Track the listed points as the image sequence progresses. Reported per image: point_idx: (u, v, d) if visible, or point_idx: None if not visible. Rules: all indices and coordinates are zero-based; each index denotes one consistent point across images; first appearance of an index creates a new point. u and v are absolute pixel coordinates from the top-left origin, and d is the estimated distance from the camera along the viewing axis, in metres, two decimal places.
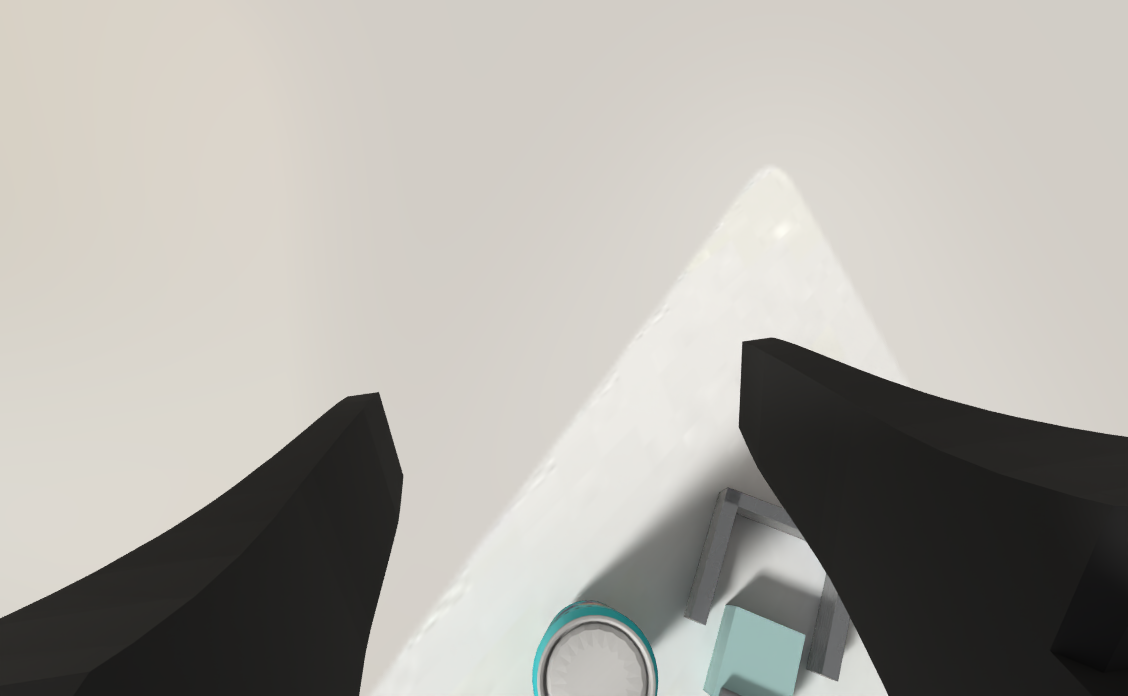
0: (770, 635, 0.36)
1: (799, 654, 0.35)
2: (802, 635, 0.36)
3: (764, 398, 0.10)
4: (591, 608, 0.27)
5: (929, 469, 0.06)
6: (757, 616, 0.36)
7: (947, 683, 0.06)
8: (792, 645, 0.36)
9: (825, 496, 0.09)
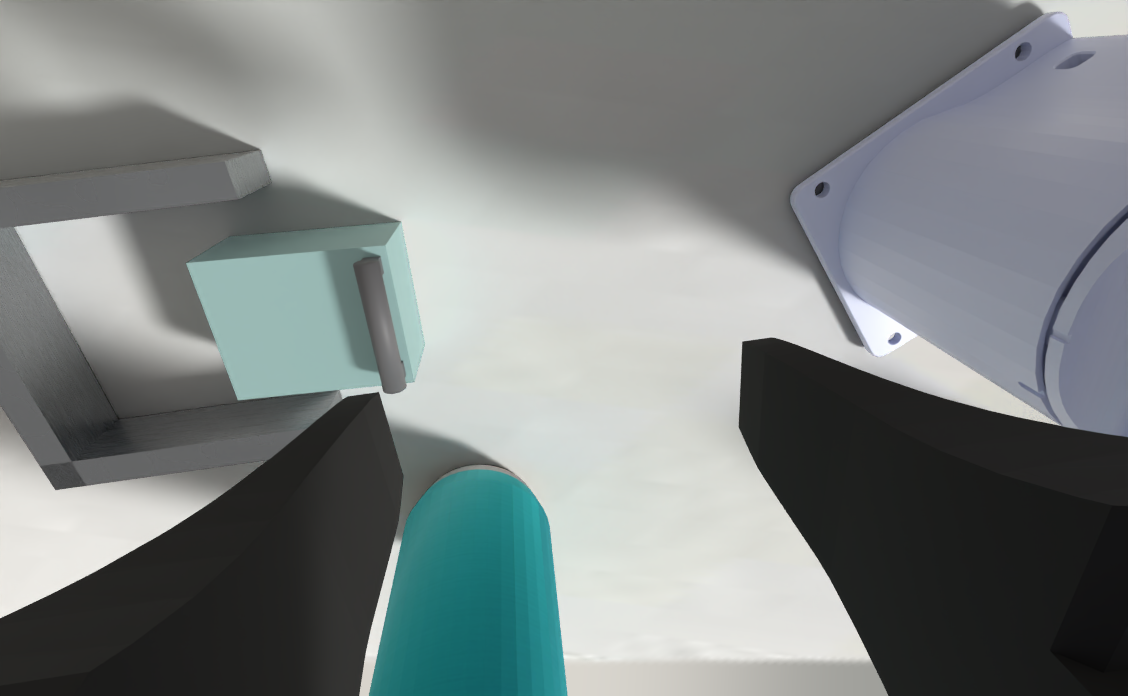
0: (240, 327, 0.17)
1: (232, 262, 0.16)
2: (191, 268, 0.16)
3: (764, 398, 0.10)
4: None
5: (929, 469, 0.06)
6: (225, 361, 0.17)
7: (947, 683, 0.06)
8: (226, 281, 0.16)
9: (825, 496, 0.09)
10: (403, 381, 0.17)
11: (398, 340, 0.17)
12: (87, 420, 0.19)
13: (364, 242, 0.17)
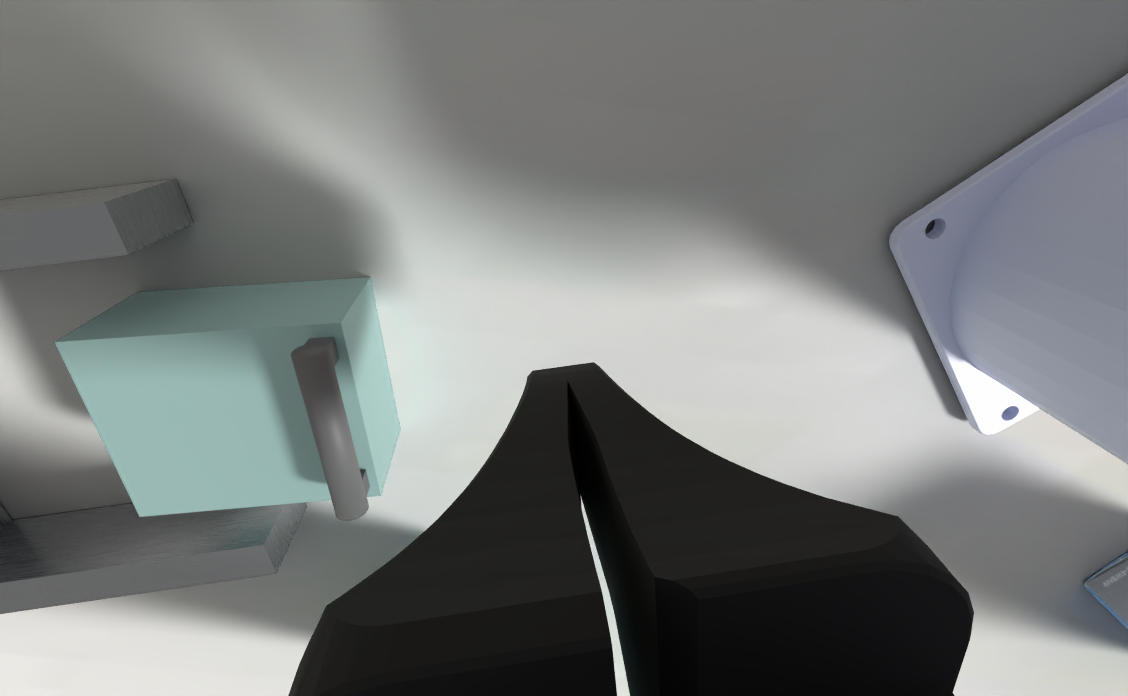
0: (138, 425, 0.12)
1: (122, 342, 0.11)
2: (63, 349, 0.11)
3: (573, 426, 0.10)
4: None
5: (618, 515, 0.06)
6: (119, 468, 0.12)
7: None
8: (114, 367, 0.11)
9: (602, 530, 0.09)
10: (363, 503, 0.12)
11: (359, 444, 0.13)
12: None
13: (313, 314, 0.12)
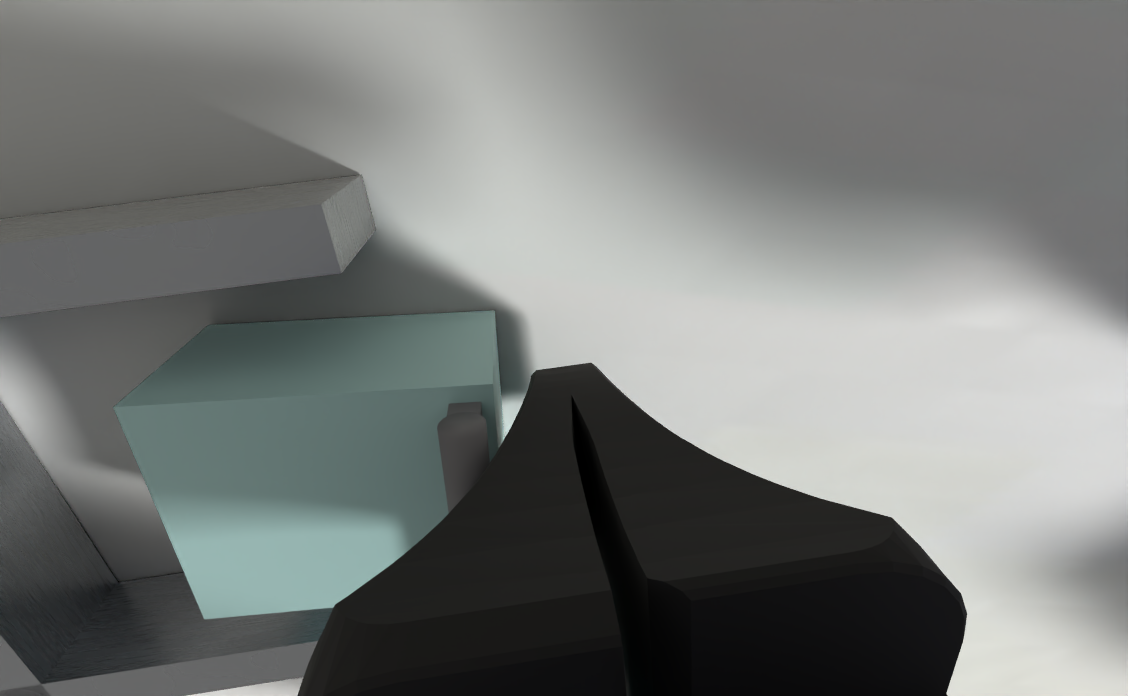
0: (214, 511, 0.09)
1: (203, 407, 0.08)
2: (124, 415, 0.08)
3: None
4: None
5: (613, 516, 0.06)
6: (185, 563, 0.10)
7: None
8: (190, 439, 0.09)
9: (599, 530, 0.09)
10: None
11: None
12: (68, 602, 0.12)
13: (449, 369, 0.09)
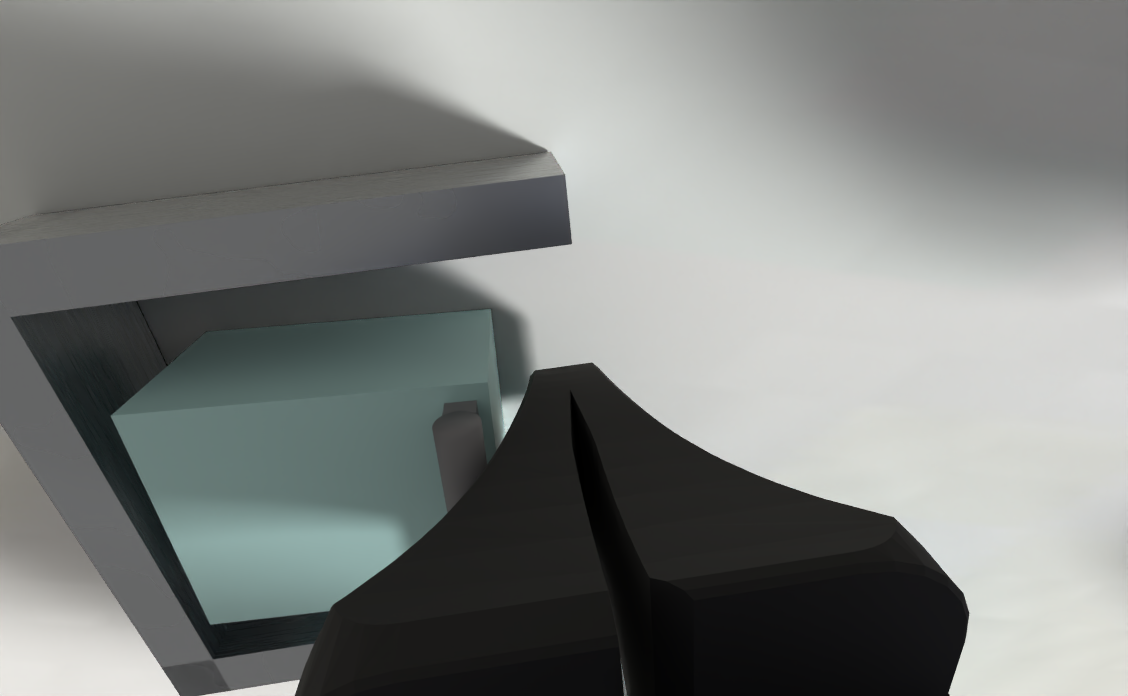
0: (215, 516, 0.09)
1: (199, 413, 0.08)
2: (122, 424, 0.08)
3: None
4: None
5: (614, 516, 0.06)
6: (188, 569, 0.10)
7: None
8: (188, 446, 0.09)
9: (600, 530, 0.09)
10: None
11: None
12: None
13: (444, 369, 0.09)
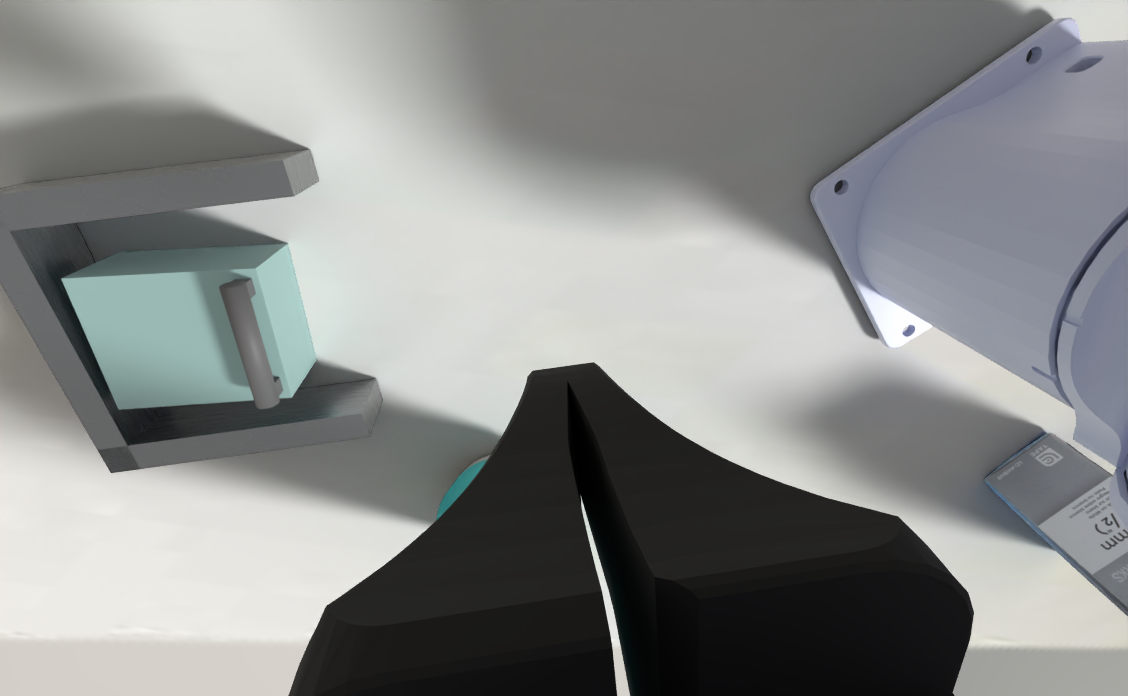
0: (117, 340, 0.17)
1: (106, 279, 0.17)
2: (67, 283, 0.17)
3: (573, 425, 0.10)
4: None
5: (618, 516, 0.06)
6: (104, 372, 0.18)
7: None
8: (101, 297, 0.17)
9: (602, 530, 0.09)
10: (275, 397, 0.18)
11: (273, 357, 0.18)
12: None
13: (239, 264, 0.17)
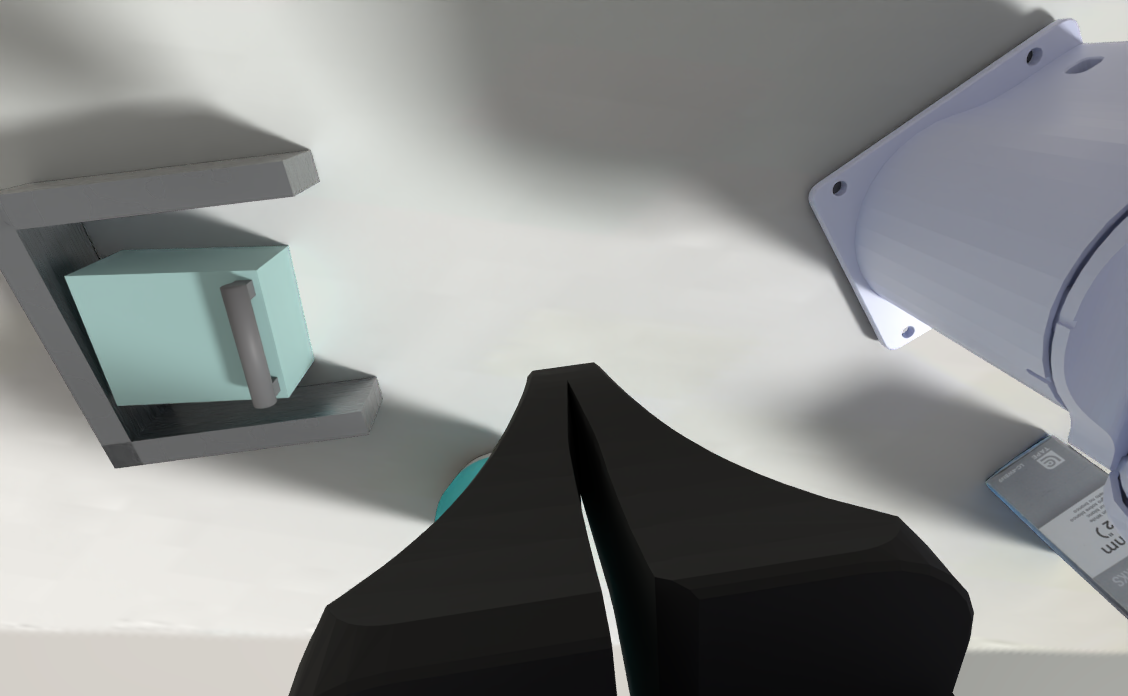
0: (118, 337, 0.18)
1: (109, 278, 0.17)
2: (70, 281, 0.17)
3: (573, 425, 0.10)
4: None
5: (618, 516, 0.06)
6: (104, 368, 0.18)
7: None
8: (103, 295, 0.17)
9: (602, 530, 0.09)
10: (272, 397, 0.18)
11: (272, 358, 0.18)
12: None
13: (240, 265, 0.18)
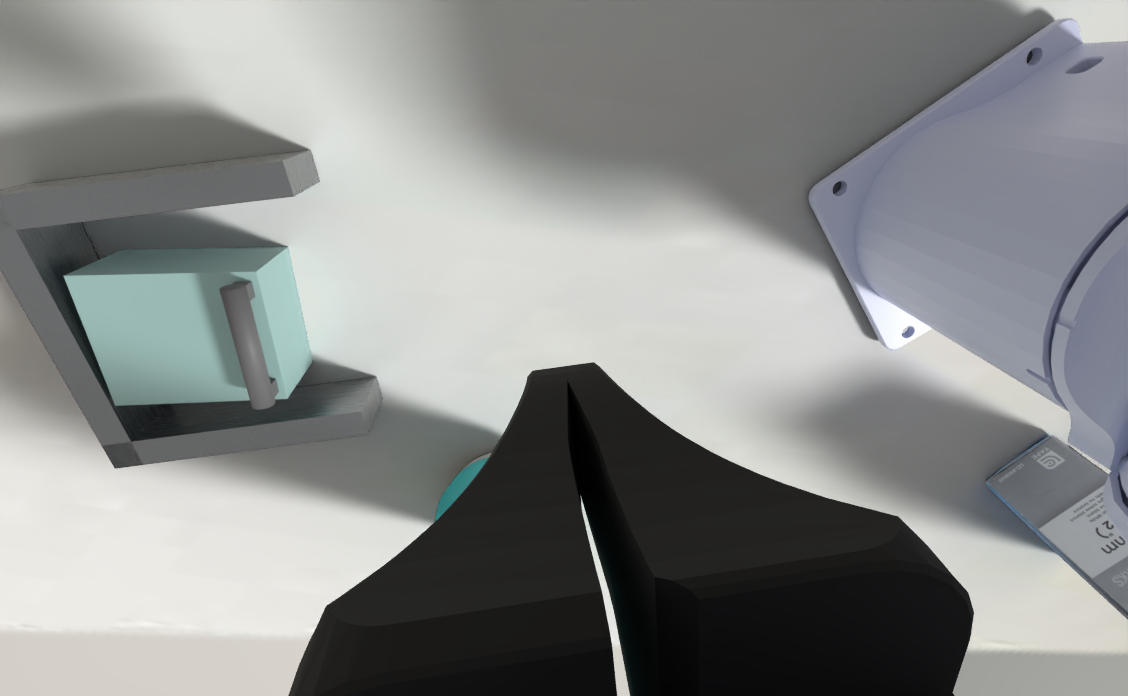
0: (116, 337, 0.18)
1: (108, 278, 0.17)
2: (69, 281, 0.17)
3: (573, 425, 0.10)
4: None
5: (618, 516, 0.06)
6: (102, 368, 0.18)
7: None
8: (102, 295, 0.17)
9: (602, 530, 0.09)
10: (271, 398, 0.18)
11: (270, 359, 0.18)
12: None
13: (239, 266, 0.18)
